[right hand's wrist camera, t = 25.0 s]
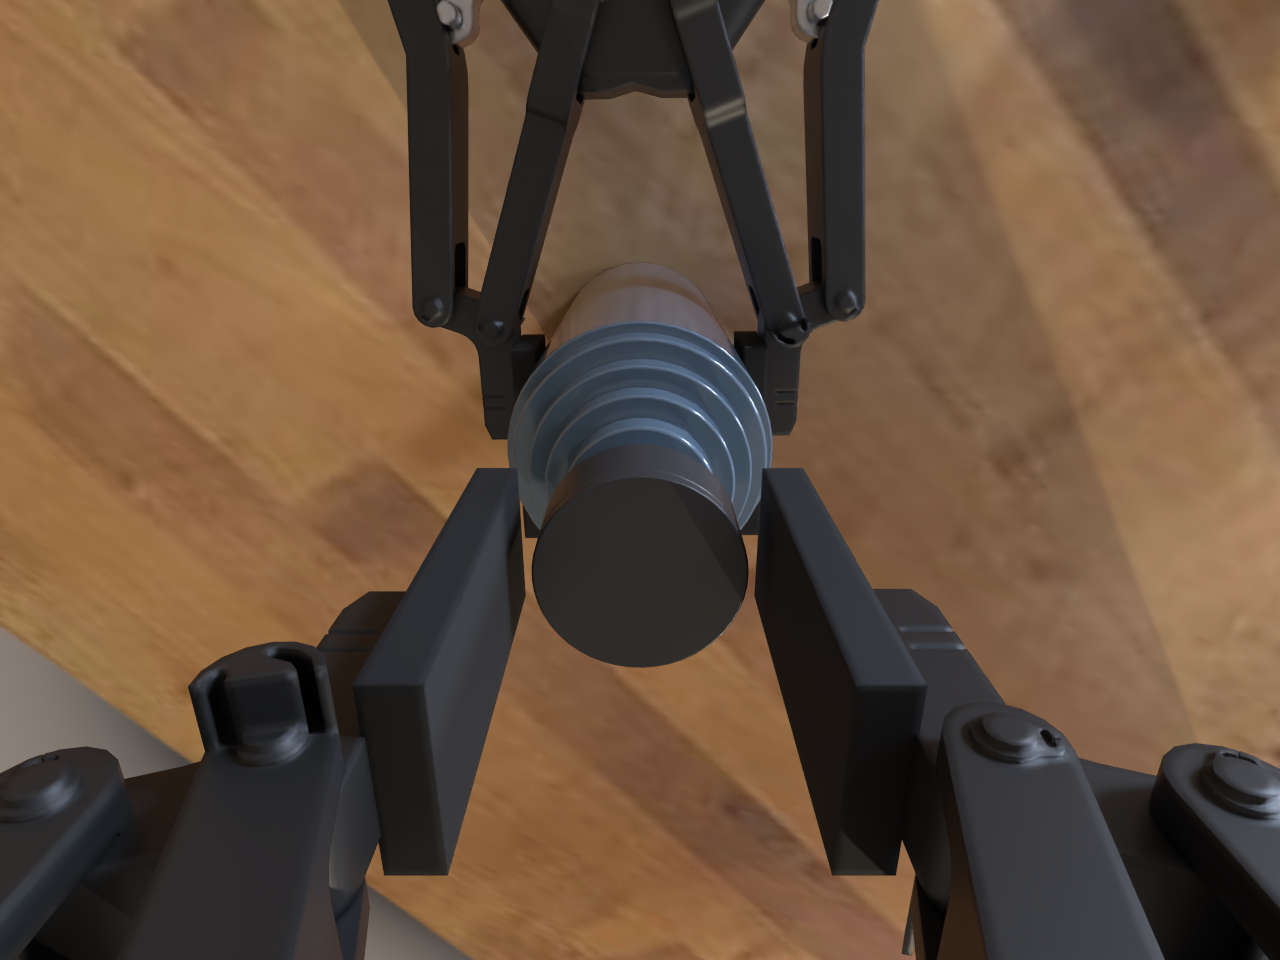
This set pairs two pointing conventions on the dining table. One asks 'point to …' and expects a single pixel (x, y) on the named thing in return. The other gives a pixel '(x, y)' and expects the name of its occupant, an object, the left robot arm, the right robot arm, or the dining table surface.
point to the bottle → (640, 388)
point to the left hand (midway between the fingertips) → (642, 519)
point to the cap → (640, 557)
